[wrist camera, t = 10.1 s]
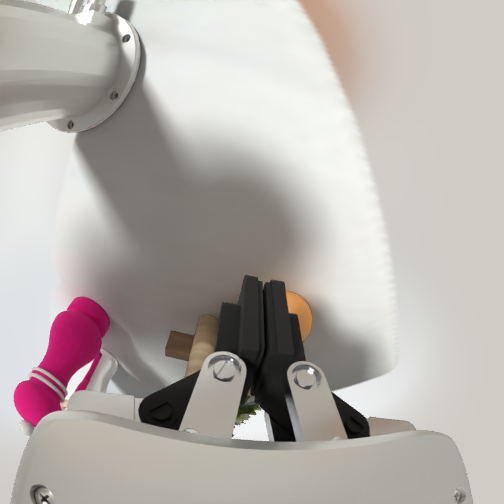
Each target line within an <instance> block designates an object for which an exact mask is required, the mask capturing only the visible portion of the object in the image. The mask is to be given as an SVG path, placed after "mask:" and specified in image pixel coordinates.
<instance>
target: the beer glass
mask: <svg viewBox="0 0 504 504" xmlns="http://www.w3.org/2000/svg"><path fill="white" fill-rule="evenodd" d="M117 369H118V362H117V360H116V359H115V358H114V357H113V356H112V355H111V354H110V353H109V352H107V351H106V350H104V349H102V348H101V350H100V352H99V353H98V355H97V356H96V357H95V358H94V359H93V360H92V361H91V362H90V363H88V364H87V365H85V366H84V367H82V368H81V369H79V370H78V371H77V372H76V373H75V374H74V375H73V376H72V377H71V379H70V381H69V383H68V386H67V388H66V389H67V392H68V395H67V396H66V397H65V401H64V402H63V403H60V405H61V409H62V410H67V404H68V400H69V398H70V396H71V395H72V394H73V393H75V392H77V391H80V390H87V391H94V392H102V393H106V391H107V387H108V384H109V382H110V380H111V378H112V376H113V375H114V374H115V372H116V371H117Z"/></svg>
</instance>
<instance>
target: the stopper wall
mask: <svg viewBox="0 0 504 504" xmlns="http://www.w3.org/2000/svg"><path fill="white" fill-rule="evenodd" d="M194 337H195V336H192V335H188V334H183V333H179V332H174V331H171V333H170V336H169V339H168V342H167V345H166V348H165V355H166V356H168V357H172V358H177V359H181V360H185V361H189V357H190V353H191V349H192V345H193V341H194Z"/></svg>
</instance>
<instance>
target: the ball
mask: <svg viewBox="0 0 504 504" xmlns="http://www.w3.org/2000/svg"><path fill="white" fill-rule="evenodd" d="M286 297H287V304H288V311H289V313H293V314H297V315H298V319H299V324H300V330H301V336H302V342H303V341H304V340H305V339H306V338H307V336H308V334H309V332H310V330H311V326H312V314H311V310H310V308H309V306H308V304H307V303H306V301H305V300H304V299H303V298H302V297H300V296H299V295H297V294H295V293H293V292H290V291H286Z"/></svg>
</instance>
